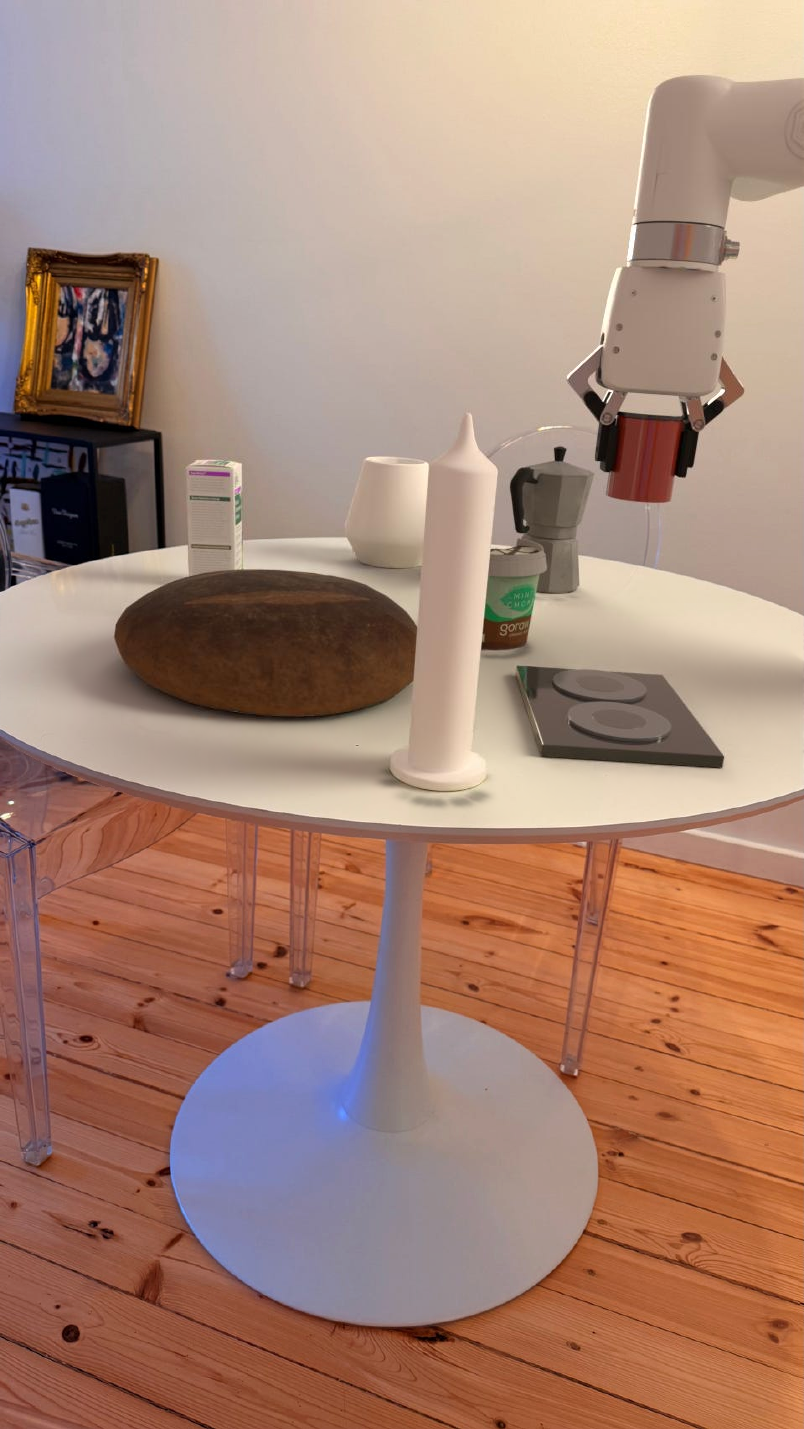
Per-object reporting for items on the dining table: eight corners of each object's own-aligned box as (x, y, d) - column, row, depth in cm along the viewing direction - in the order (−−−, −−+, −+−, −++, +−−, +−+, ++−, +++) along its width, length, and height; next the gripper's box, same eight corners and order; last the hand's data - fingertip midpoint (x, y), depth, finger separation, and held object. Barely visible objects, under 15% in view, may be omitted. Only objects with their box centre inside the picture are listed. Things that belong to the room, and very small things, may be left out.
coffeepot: (547, 573, 139) (562, 441, 133) (602, 587, 133) (621, 449, 127) (473, 585, 129) (486, 443, 123) (529, 601, 123) (546, 452, 117)
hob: (661, 684, 95) (663, 671, 94) (722, 768, 76) (725, 752, 75) (515, 675, 94) (516, 662, 94) (540, 756, 76) (542, 740, 75)
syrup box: (236, 590, 119) (236, 466, 113) (186, 587, 118) (185, 463, 113) (243, 579, 124) (244, 461, 119) (196, 576, 124) (194, 457, 119)
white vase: (338, 567, 134) (343, 462, 129) (347, 548, 147) (351, 452, 142) (437, 574, 134) (445, 469, 129) (437, 555, 146) (445, 458, 142)
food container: (499, 661, 98) (509, 561, 95) (448, 647, 102) (456, 550, 98) (559, 638, 108) (570, 547, 104) (510, 626, 111) (520, 537, 108)
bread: (103, 632, 99) (99, 545, 96) (361, 622, 108) (365, 543, 105) (137, 737, 74) (133, 624, 71) (468, 712, 84) (477, 612, 81)
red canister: (664, 495, 92) (676, 413, 90) (678, 505, 87) (693, 417, 84) (599, 491, 93) (610, 408, 90) (610, 500, 87) (622, 412, 84)
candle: (380, 784, 69) (403, 411, 60) (399, 747, 76) (422, 406, 67) (481, 797, 68) (519, 420, 59) (491, 759, 75) (526, 414, 66)
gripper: (763, 263, 86) (726, 475, 92) (565, 250, 86) (541, 462, 92) (792, 256, 79) (750, 485, 85) (577, 241, 79) (550, 471, 85)
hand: (642, 471), depth 89 cm, fingers closed on red canister, 5 cm apart
